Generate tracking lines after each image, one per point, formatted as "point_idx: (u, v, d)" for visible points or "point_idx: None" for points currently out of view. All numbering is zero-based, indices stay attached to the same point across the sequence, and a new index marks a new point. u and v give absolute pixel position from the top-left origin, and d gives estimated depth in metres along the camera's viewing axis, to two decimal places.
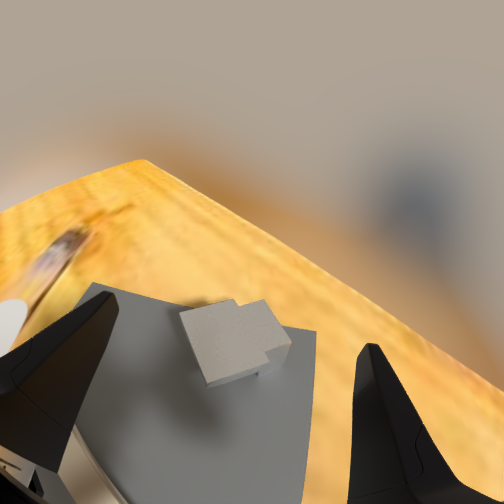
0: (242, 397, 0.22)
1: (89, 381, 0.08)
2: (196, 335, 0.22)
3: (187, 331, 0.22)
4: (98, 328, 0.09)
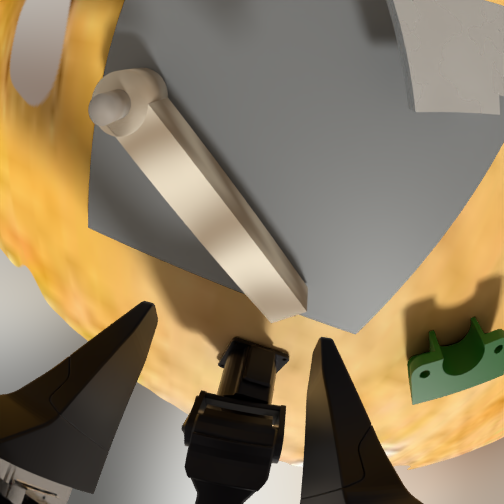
0: None
1: (128, 397, 0.08)
2: (412, 20, 0.07)
3: (397, 7, 0.07)
4: (139, 342, 0.08)
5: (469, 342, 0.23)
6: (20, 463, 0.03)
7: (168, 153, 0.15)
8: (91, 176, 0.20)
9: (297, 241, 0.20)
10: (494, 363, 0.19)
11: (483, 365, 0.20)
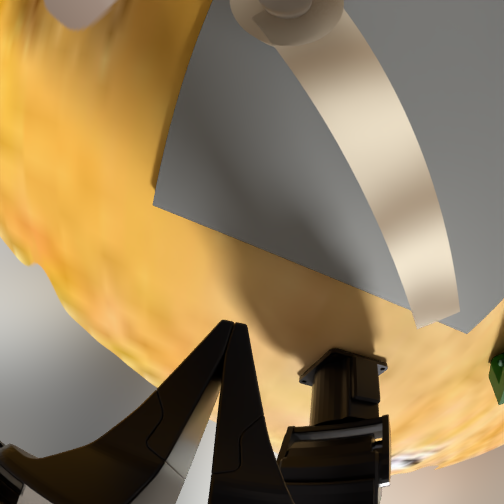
0: None
1: (207, 421, 0.08)
2: None
3: None
4: None
5: None
6: None
7: (366, 84, 0.08)
8: (174, 123, 0.13)
9: (454, 228, 0.14)
10: None
11: None
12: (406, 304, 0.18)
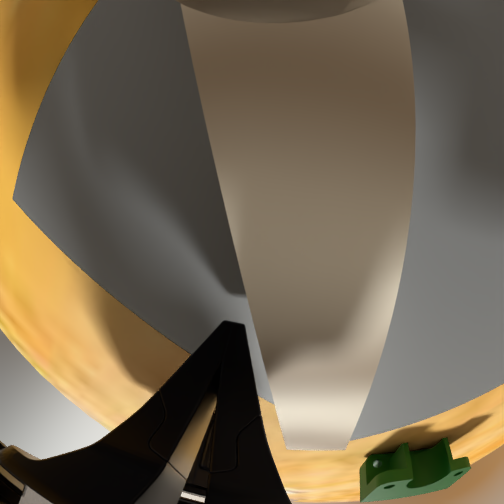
0: None
1: (209, 422, 0.08)
2: None
3: None
4: None
5: (432, 458, 0.20)
6: None
7: (358, 171, 0.04)
8: (45, 102, 0.07)
9: (381, 366, 0.11)
10: (447, 481, 0.17)
11: (438, 483, 0.17)
12: None
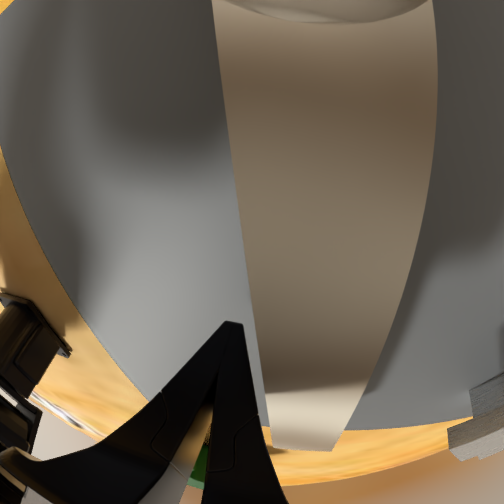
0: (442, 387, 0.12)
1: (210, 422, 0.08)
2: None
3: None
4: None
5: None
6: None
7: (374, 179, 0.04)
8: None
9: (194, 348, 0.13)
10: None
11: None
12: (103, 342, 0.15)
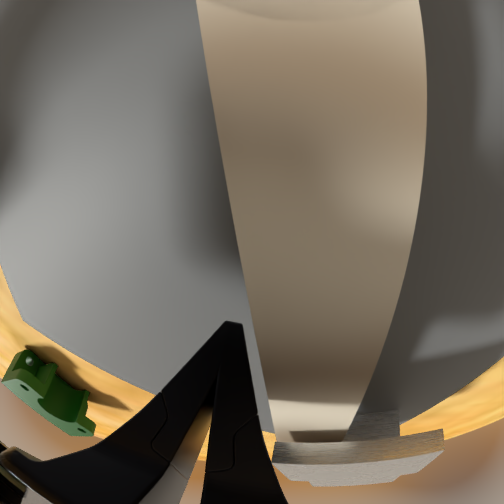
0: None
1: (210, 422, 0.08)
2: (377, 464, 0.08)
3: (394, 459, 0.08)
4: None
5: (70, 397, 0.25)
6: None
7: (366, 174, 0.04)
8: None
9: (66, 275, 0.11)
10: (71, 429, 0.23)
11: (63, 423, 0.23)
12: None
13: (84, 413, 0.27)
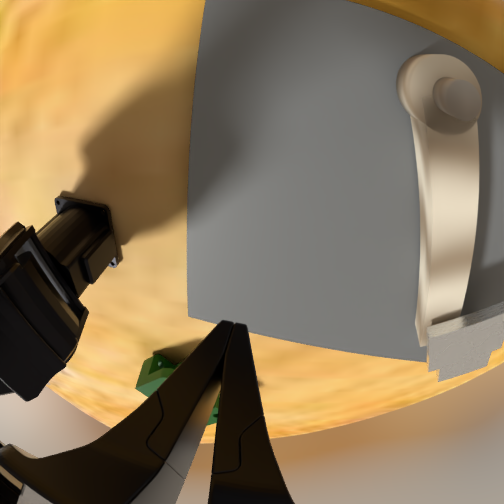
0: (415, 318, 0.21)
1: (207, 422, 0.08)
2: (481, 326, 0.15)
3: (489, 319, 0.14)
4: None
5: None
6: None
7: (465, 176, 0.11)
8: None
9: (280, 253, 0.20)
10: None
11: None
12: (191, 246, 0.21)
13: None
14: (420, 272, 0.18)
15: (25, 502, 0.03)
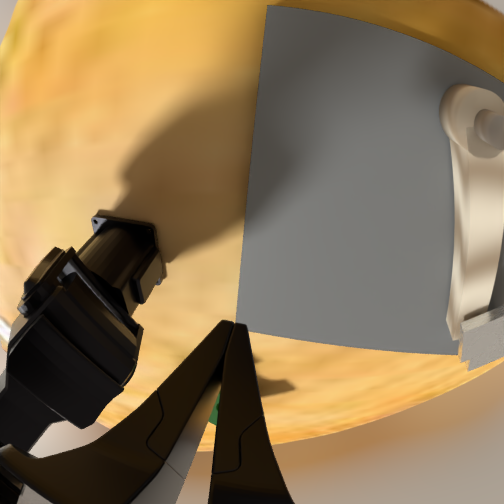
0: (446, 315, 0.22)
1: (207, 422, 0.08)
2: None
3: None
4: None
5: None
6: None
7: (496, 192, 0.12)
8: (363, 24, 0.11)
9: (332, 265, 0.21)
10: None
11: None
12: (245, 262, 0.22)
13: None
14: (453, 274, 0.18)
15: (25, 502, 0.03)
